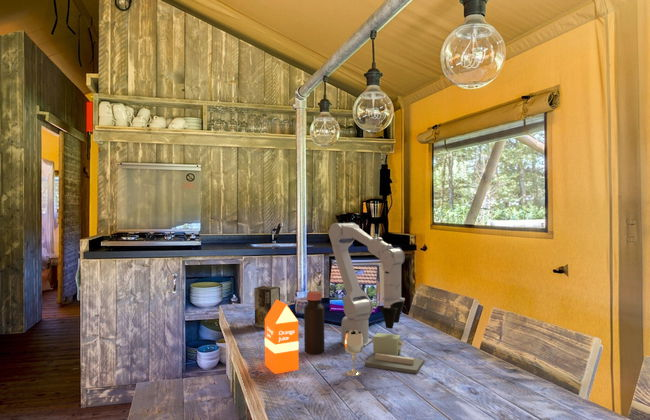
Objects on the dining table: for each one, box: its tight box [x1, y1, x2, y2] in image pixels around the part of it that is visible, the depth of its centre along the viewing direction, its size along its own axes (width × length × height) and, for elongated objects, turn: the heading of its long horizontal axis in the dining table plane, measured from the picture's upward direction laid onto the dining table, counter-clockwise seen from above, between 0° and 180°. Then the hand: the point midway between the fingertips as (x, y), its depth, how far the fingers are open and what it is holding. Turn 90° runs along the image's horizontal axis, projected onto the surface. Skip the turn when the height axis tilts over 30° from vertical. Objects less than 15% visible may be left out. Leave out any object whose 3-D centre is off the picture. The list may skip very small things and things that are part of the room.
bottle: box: [303, 290, 325, 356], centre depth 149 cm, size 7×7×20 cm
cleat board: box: [364, 353, 425, 374], centre depth 137 cm, size 16×10×2 cm, turn 66°
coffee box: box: [253, 285, 281, 329], centre depth 182 cm, size 9×6×16 cm
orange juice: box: [264, 299, 299, 375], centre depth 135 cm, size 8×9×20 cm
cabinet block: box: [372, 332, 403, 356], centre depth 147 cm, size 9×5×6 cm, turn 66°
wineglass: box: [343, 330, 364, 377], centre depth 129 cm, size 6×6×12 cm
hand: (392, 325), depth 147 cm, fingers open, 7 cm apart
